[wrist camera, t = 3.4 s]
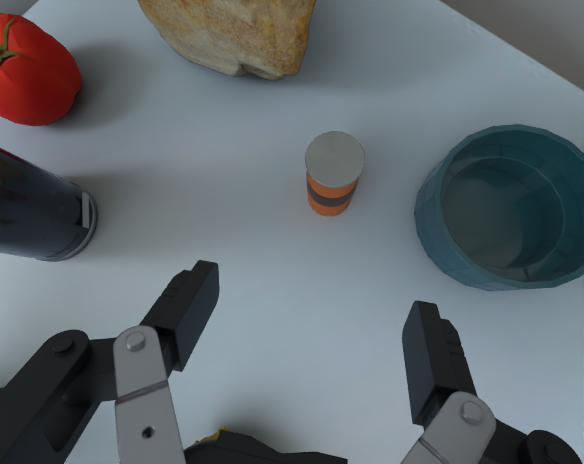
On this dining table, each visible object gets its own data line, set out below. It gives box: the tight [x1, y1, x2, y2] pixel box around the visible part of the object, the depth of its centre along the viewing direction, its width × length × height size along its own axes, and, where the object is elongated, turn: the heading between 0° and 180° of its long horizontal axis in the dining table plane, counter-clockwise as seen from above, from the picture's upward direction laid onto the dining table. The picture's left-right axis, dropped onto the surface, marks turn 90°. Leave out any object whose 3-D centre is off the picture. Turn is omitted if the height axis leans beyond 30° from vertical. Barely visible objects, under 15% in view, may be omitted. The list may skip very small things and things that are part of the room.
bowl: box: [414, 124, 584, 291], centre depth 33 cm, size 15×15×6 cm
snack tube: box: [305, 131, 365, 216], centre depth 33 cm, size 5×5×10 cm
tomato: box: [0, 13, 82, 126], centre depth 38 cm, size 11×12×9 cm
